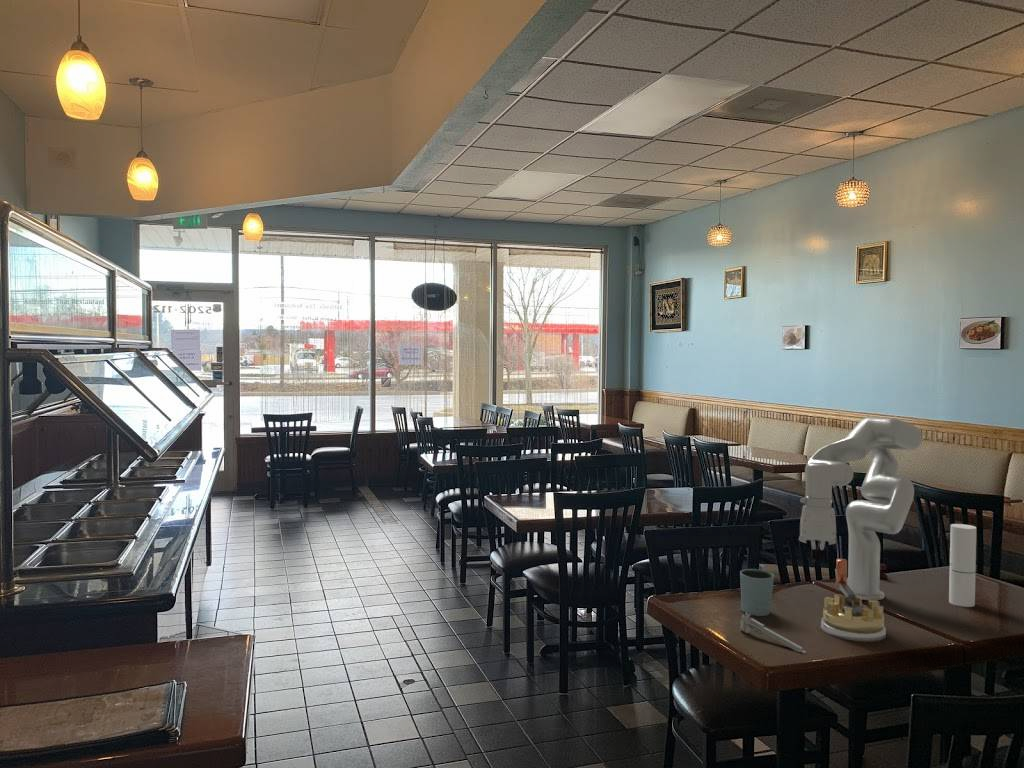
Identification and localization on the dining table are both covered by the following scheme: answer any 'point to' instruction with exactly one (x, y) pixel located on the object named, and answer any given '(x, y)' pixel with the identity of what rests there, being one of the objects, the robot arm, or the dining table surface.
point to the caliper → (766, 632)
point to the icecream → (882, 575)
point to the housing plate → (853, 634)
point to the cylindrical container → (962, 565)
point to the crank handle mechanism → (851, 607)
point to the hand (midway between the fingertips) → (816, 561)
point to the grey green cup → (756, 591)
